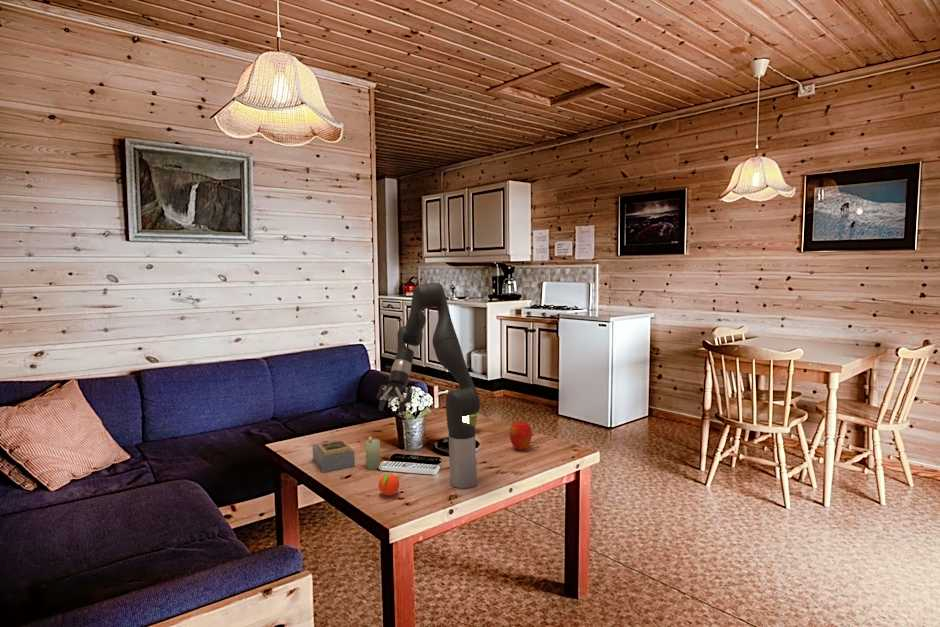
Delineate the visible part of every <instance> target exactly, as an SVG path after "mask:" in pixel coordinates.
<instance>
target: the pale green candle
mask: <svg viewBox="0 0 940 627" xmlns="http://www.w3.org/2000/svg"><path fill="white" fill-rule="evenodd" d="M380 446H381V444H380V439H377V438H373V437H372V436H368V439H367V440H365V459H366V461H365V464H366V469H367V470H378V469H380V468H379V466H380V467H381V447H380Z"/></svg>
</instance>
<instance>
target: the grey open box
mask: <svg viewBox="0 0 940 627" xmlns="http://www.w3.org/2000/svg"><path fill="white" fill-rule="evenodd" d="M311 449H312V460H313V461H314V463H315V464H316V465H317V467H318V468H319V469H320V471H321V472H322V473H323V474H325V473H329V472H333V471H339V470H344V469H349V468H354V467H356V463H355V461H356V460H355V450H354V449H352V447H351V446H350V445H349V444H348V443H347V442H346V441H345V440H344V439H337V440H332V441H326V442H321V443H315V444H314V443H313V444H312V447H311Z"/></svg>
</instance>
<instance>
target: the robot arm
mask: <svg viewBox="0 0 940 627" xmlns="http://www.w3.org/2000/svg"><path fill="white" fill-rule="evenodd" d="M448 305H449V304H448V301H447V297H446V292H445V290H444V287H443V286H442V284H441V282H431V283H429V282H428V283H423V284H422V283H421V284H418V285H416V286H415V287H414V289H413V292H412V296H411V304H410V313H409V316H408V317H407V318H408V319H407V320H406V323H405V325H403V326H401V327H400V328H398V330H397V335H396V336H397V349H396V355H395V359H394V362H393V363H392V367H391V370H390V374H389V378H388V383H387V385H384V384H383V383H381V384H380V386H379V388H378V392H377V395H376V399H377V400H379V404H378V407H377V408H378V410H379V411H380V412H383V411H384V408H385V405H386V402H387V401H388V400H389V399H391V398H397V399H398V398H399V400H400V402H399V405H398V408H397V409H398V410H397V411H398V413H399V414H402V413H403V412H404V410H405V407H406V404H410V403H411V401H412V398H413V397H412V396H413V391H414V390H413V388H412V387H411V386H410V385H409V386H407V385H408V382H409V379H410V375H411V371H412V364H413V360H414V355H415V353H414V352H415V351H414V350H413V349H411V348H410V347H408V346H406V345H409V346H412V347H418V346H420V345H421V344H422V342H423V337H424V334H423V330H424V328H425V326H426V322H427V316H426V315H425V313H424V311H423V310H425V309H427V310H429V309H434V308H435V309H436V310H437V317H438V318H437V323H436V327H435V329H434V332H433V334H432V335H433V336H432V342H431V343H432V346H433V349H434V352H435V356H436V359H437V360H438V362H439V363H440V364H441V365H442V367H444V369H445V370H447V371H448V372H449V374H451V376H453V377H454V379H455V380H456V382H457V384H458V387H459V389H454V390H450V391H448V392H447V394H446V396H445V412H446V414H445V415H446V424H447V425H446V426H447V430H448V454H449V455H448V456H449V465H448V466H449V484H450V486H452V487H455V488H458V489H461V490H462V489H467V488H471V487H475V486H478V471H477V468H478V466H477V464H478V463H477V456H476V455H477V451H476V449H477V448H476V445H477V444H476V428H475V427H474V426H473V425H471V424H467V423H463V422H462V416H467V415H472V414H476V413H479V412H480V408H481V402H480V401H481V399H480V396H479V393H478V390H477V388H476V386H475V384H474V381H473V379H472V376H471V374H470V372H469V369H468V366H467V363H466V361H465V358H464V354H463V350H462V347H461V345H460V342H459V338H458V335H457V333H456V330H455V327H454V324H453V321H452V318H451V314H450V310H449V309H450V308H449V306H448ZM405 392H406V394H405V395H404V393H405Z"/></svg>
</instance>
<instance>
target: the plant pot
mask: <svg viewBox="0 0 940 627" xmlns="http://www.w3.org/2000/svg"><path fill="white" fill-rule="evenodd" d="M478 416H479V412H478V413H476V414H472V415H470V424H471V425H473V426H474V427H475V429H476V427H477V420H478Z"/></svg>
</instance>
